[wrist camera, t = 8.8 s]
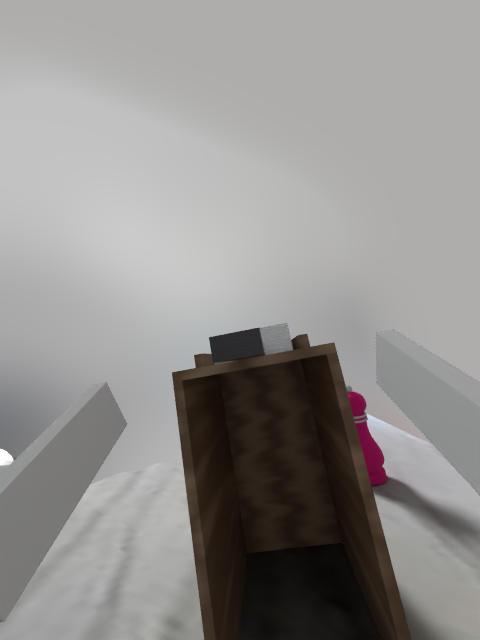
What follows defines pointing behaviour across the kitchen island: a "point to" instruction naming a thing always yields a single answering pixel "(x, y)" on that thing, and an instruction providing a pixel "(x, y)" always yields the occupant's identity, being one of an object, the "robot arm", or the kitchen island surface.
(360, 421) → the pepper mill
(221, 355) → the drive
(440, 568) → the kitchen island surface
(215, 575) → the stand
